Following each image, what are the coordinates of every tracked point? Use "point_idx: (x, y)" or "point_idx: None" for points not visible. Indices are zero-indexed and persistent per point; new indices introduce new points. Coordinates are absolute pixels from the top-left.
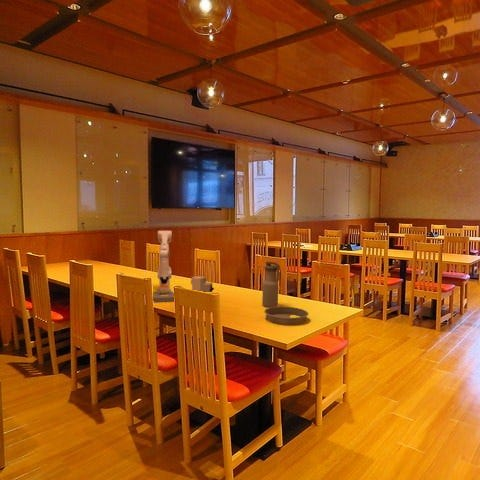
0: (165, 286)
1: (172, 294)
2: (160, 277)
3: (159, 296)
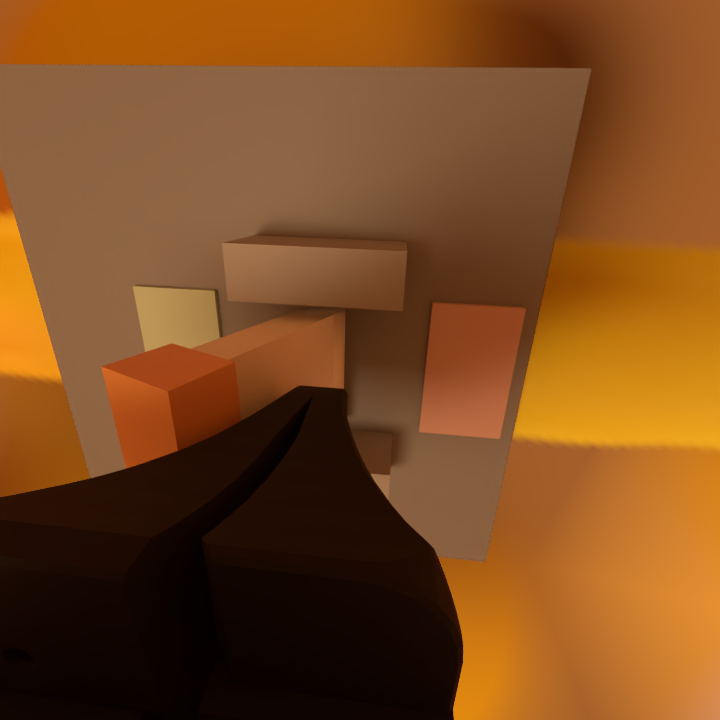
0: None
1: None
2: (358, 611)
3: (122, 264)
